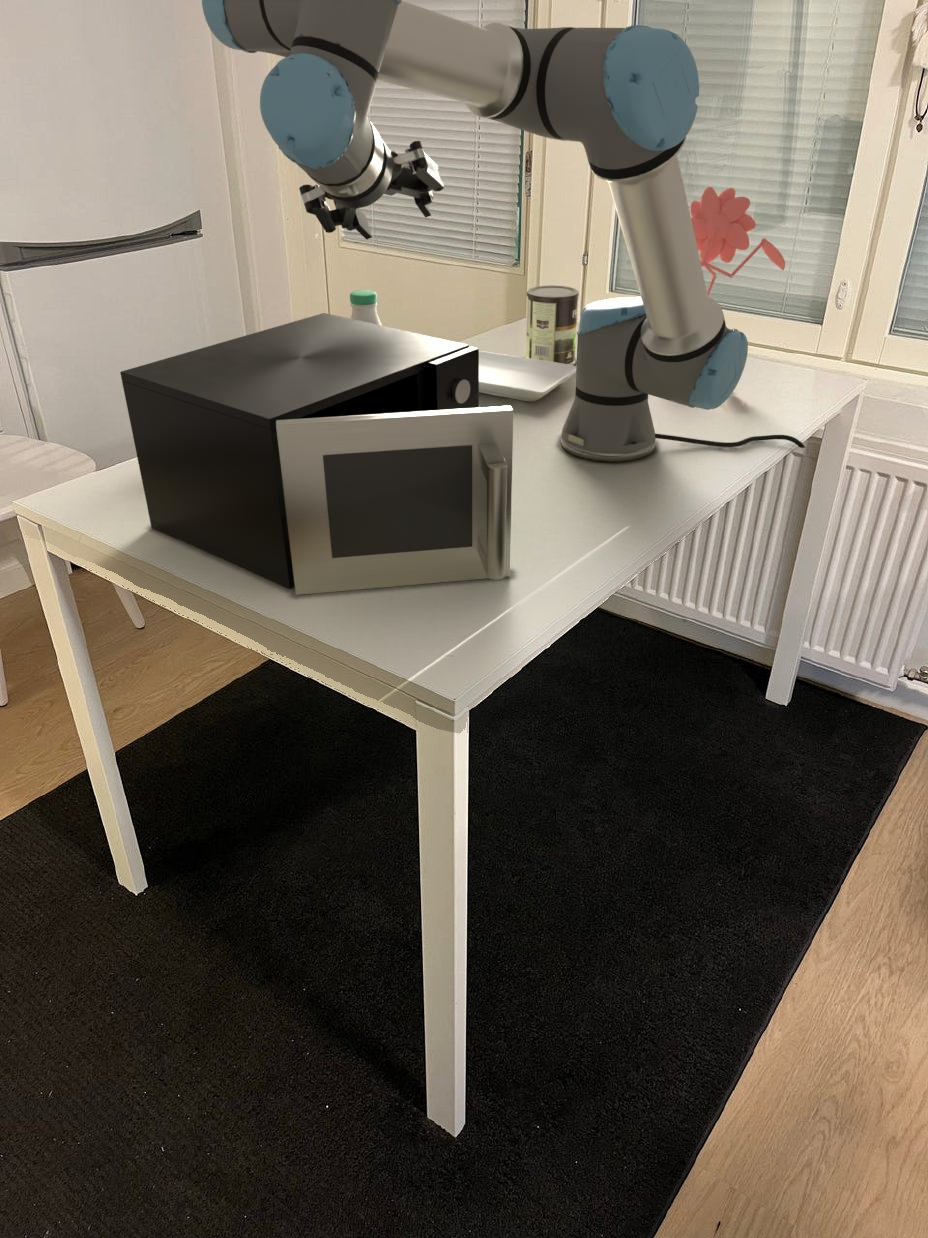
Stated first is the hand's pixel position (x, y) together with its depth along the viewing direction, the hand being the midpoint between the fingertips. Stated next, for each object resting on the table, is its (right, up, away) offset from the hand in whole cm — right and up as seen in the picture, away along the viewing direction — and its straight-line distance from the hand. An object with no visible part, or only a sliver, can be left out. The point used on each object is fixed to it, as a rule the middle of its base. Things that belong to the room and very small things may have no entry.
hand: (395, 216), depth 114 cm
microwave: (-12, -33, +22) cm, 41 cm away
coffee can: (+26, +4, +81) cm, 85 cm away
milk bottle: (-9, -9, +60) cm, 61 cm away
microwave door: (+1, -46, +1) cm, 46 cm away
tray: (+13, -3, +70) cm, 71 cm away
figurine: (+53, -4, +67) cm, 86 cm away
